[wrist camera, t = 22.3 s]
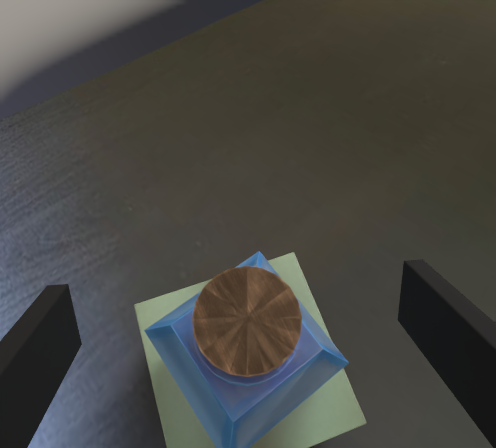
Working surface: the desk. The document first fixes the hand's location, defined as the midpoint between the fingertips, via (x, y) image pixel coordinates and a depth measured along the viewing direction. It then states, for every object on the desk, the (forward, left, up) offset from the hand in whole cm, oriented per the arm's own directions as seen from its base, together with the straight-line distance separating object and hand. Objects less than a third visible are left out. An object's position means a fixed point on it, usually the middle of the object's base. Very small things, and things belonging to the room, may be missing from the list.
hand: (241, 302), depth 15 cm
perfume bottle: (0, -1, -8) cm, 8 cm away
